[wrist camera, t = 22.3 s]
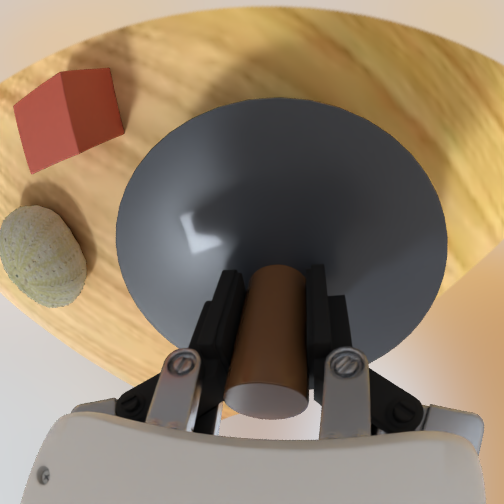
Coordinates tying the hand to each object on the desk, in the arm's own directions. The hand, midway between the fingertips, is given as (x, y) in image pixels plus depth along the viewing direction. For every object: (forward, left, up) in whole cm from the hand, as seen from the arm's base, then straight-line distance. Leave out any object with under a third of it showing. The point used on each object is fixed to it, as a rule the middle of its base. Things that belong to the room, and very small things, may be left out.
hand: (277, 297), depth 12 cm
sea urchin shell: (-17, -9, -6) cm, 20 cm away
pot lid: (0, 0, -1) cm, 1 cm away
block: (-14, +3, -6) cm, 15 cm away
